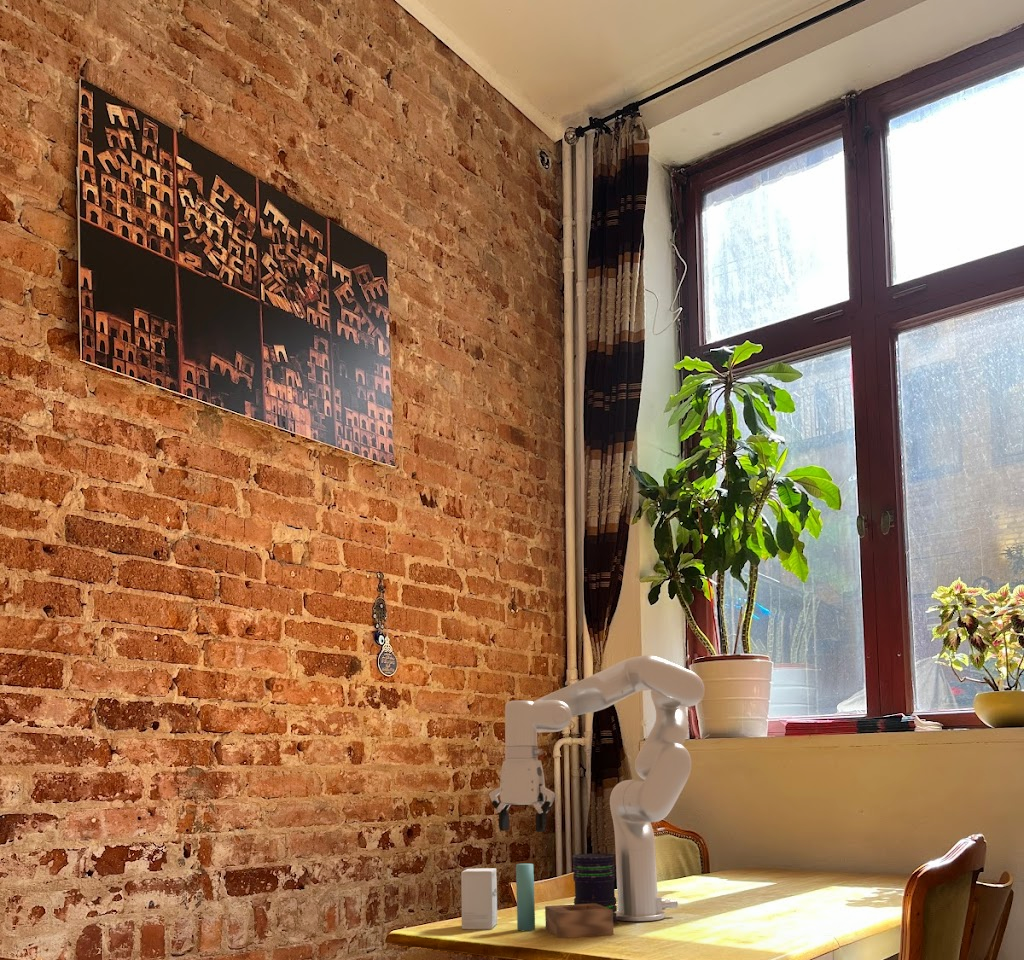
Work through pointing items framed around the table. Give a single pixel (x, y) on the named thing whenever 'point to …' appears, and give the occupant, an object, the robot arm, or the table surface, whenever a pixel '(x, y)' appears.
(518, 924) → the teal peg
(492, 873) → the supplement box
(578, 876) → the storage jar
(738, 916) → the table surface
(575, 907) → the brown wooden base
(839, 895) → the table surface
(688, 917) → the table surface
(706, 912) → the table surface
